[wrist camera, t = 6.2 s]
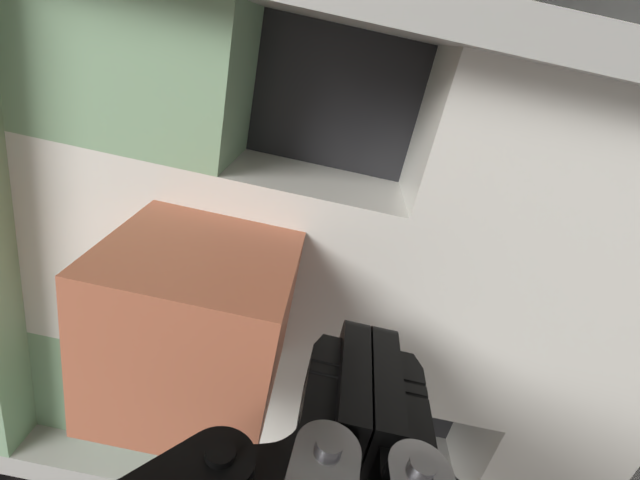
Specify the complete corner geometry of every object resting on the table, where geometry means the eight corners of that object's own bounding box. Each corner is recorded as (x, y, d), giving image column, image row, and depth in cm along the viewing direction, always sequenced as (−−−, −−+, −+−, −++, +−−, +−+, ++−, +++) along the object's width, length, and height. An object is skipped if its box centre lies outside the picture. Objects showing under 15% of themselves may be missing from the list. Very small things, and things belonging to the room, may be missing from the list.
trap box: (770, 83, 14) (1010, 108, 9) (536, 465, 21) (592, 595, 16) (48, -79, 13) (-137, -151, 8) (73, 368, 21) (-16, 470, 16)
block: (306, 232, 13) (281, 324, 8) (281, 352, 14) (251, 474, 10) (153, 199, 12) (55, 276, 8) (148, 324, 14) (66, 436, 10)
